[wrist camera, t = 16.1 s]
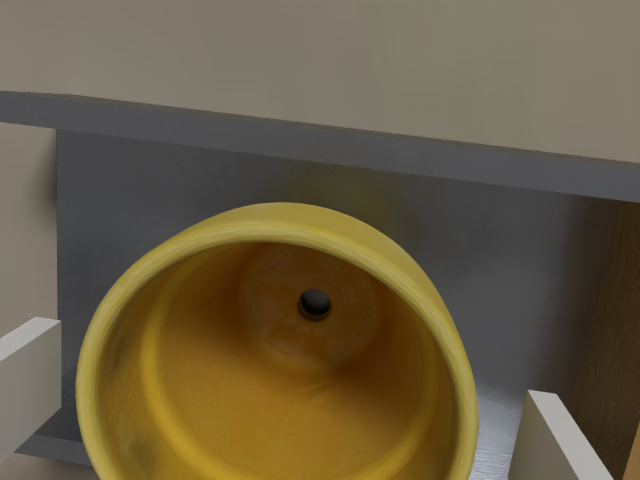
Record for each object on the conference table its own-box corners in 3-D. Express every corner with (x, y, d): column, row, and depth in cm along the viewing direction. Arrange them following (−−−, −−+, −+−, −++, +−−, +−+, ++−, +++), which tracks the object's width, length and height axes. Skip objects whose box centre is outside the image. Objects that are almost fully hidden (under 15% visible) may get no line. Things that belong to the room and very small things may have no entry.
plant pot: (469, 205, 21) (540, 281, 12) (405, 429, 24) (421, 641, 14) (216, 148, 22) (89, 177, 12) (181, 373, 24) (53, 541, 15)
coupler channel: (569, 470, 24) (629, 582, 19) (70, 387, 26) (-18, 466, 20) (651, 164, 21) (755, 185, 15) (69, 94, 23) (-36, 88, 17)
